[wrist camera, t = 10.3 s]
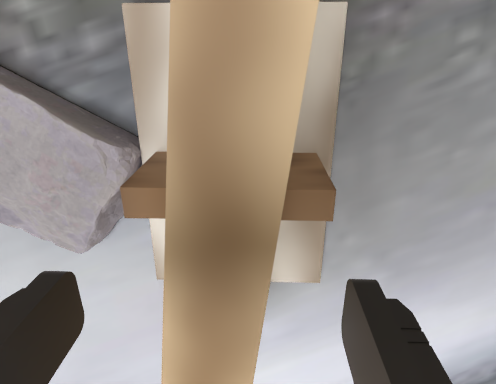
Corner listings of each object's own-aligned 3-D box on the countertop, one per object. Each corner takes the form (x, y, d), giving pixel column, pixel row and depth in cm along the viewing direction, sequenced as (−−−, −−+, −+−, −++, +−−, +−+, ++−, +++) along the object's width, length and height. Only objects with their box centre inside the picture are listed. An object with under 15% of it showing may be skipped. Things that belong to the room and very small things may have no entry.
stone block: (122, 232, 28) (159, 133, 22) (90, 275, 24) (125, 167, 18) (-20, 164, 26) (-16, 41, 21) (-79, 197, 22) (-94, 56, 17)
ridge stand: (341, 5, 19) (386, -19, 12) (316, 270, 26) (336, 350, 19) (131, 6, 20) (61, -17, 13) (162, 267, 27) (127, 344, 20)
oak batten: (317, -77, 12) (342, -135, 8) (245, 373, 20) (241, 446, 17) (201, -92, 12) (173, -157, 8) (178, 366, 20) (160, 436, 17)
